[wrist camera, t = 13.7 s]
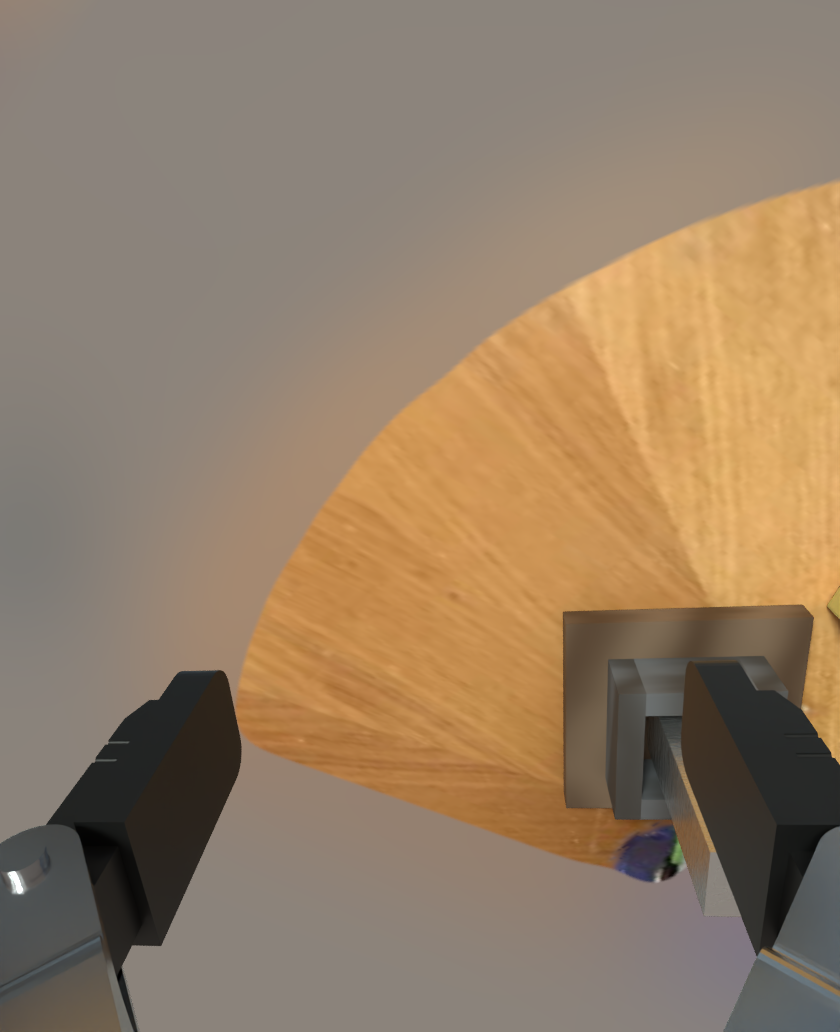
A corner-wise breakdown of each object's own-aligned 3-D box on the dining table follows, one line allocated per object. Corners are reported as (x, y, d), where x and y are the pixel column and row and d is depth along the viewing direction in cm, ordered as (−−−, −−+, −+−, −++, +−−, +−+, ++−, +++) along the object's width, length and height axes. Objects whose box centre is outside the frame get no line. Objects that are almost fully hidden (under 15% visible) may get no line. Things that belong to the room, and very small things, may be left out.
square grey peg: (717, 691, 42) (803, 853, 31) (712, 745, 44) (792, 917, 33) (650, 693, 43) (710, 852, 32) (647, 746, 44) (703, 916, 33)
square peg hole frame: (802, 604, 41) (843, 650, 37) (777, 790, 46) (810, 851, 42) (563, 611, 43) (573, 656, 38) (563, 791, 48) (572, 850, 43)
